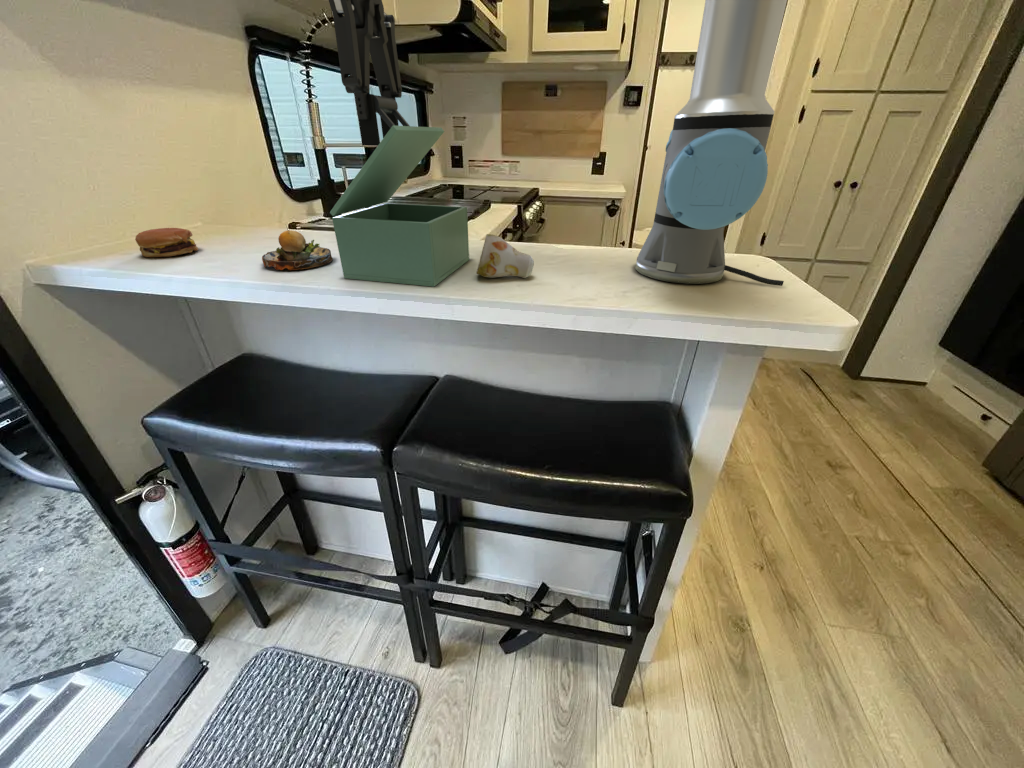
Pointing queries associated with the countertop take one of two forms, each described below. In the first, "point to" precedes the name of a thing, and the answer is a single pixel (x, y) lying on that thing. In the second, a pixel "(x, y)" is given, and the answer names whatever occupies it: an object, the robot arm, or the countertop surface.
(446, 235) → the cool box
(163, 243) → the burger
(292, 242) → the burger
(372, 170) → the cool box lid
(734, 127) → the robot arm
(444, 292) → the countertop surface
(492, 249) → the mug
